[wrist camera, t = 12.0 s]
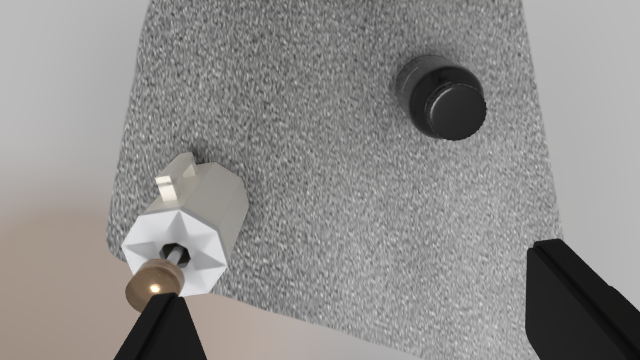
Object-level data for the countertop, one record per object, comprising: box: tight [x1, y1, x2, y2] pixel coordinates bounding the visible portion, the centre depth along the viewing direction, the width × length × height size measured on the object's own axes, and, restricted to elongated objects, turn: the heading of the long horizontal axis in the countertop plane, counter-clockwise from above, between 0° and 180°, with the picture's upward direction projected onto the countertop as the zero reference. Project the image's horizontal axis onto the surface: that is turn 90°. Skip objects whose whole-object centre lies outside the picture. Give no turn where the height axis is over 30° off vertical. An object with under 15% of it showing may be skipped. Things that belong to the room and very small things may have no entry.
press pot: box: [121, 152, 249, 297], centre depth 44 cm, size 12×9×13 cm
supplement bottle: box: [396, 55, 487, 141], centre depth 39 cm, size 7×7×12 cm
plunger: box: [125, 243, 186, 313], centre depth 41 cm, size 4×4×17 cm
